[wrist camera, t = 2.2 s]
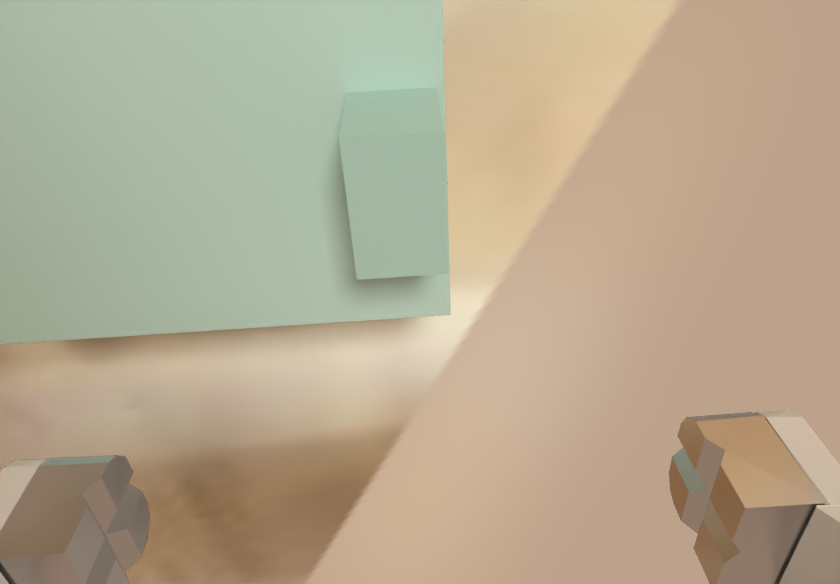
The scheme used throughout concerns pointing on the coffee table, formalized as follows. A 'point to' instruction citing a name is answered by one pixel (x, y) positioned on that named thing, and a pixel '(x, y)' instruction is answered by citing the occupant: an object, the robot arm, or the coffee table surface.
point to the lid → (219, 165)
